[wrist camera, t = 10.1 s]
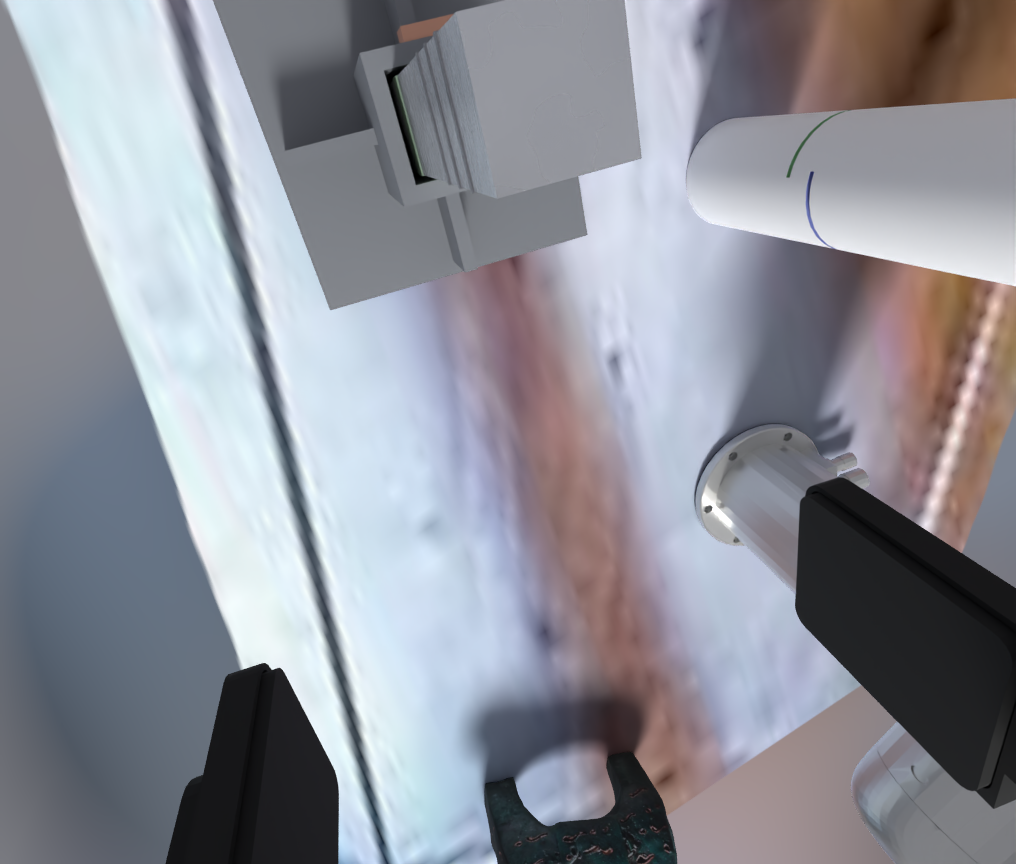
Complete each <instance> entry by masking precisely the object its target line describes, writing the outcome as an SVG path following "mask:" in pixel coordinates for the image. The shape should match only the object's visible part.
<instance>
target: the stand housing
mask: <svg viewBox="0 0 1016 864" xmlns="http://www.w3.org/2000/svg"><path fill="white" fill-rule="evenodd" d="M500 1H504V0H213V2H214V4H215V7H216V10H217V12H218V15H219V18H220V20H221V23H222V26H223V28H224V31H225V33H226V36H227V39H228V41H229V44H230V47H231V49H232V52H233V55H234V57H235V60H236V63H237V65H238V68H239V70H240V73H241V76H242V78H243V81H244V84H245V86H246V89H247V92H248V94H249V97H250V99H251V102H252V105H253V107H254V110H255V113H256V115H257V118H258V121H259V123H260V126H261V128H262V131H263V134H264V136H265V139H266V142H267V144H268V147H269V150H270V152H271V155H272V158H273V160H274V163H275V165H276V168H277V171H278V173H279V176H280V179H281V181H282V184H283V187H284V189H285V192H286V194H287V197H288V200H289V202H290V205H291V208H292V210H293V213H294V216H295V218H296V221H297V223H298V226H299V229H300V231H301V234H302V237H303V239H304V242H305V245H306V247H307V250H308V253H309V255H310V258H311V260H312V263H313V266H314V268H315V271H316V274H317V276H318V279H319V282H320V284H321V287H322V289H323V292H324V295H325V297H326V300H327V303H328V305H329V308H330V310H333V309H337V308H340V307H343V306H347V305H350V304H354V303H357V302H360V301H364V300H367V299H371V298H374V297H377V296H381V295H384V294H388V293H391V292H395V291H398V290H401V289H405V288H408V287H412V286H415V285H418V284H422V283H425V282H429V281H432V280H435V279H439V278H442V277H446V276H449V275H453V274H456V273H459V272H463V271H464V272H469V271H472V270H476V269H478V268H477V267H480V266H483V265H487V264H490V263H493V262H497V261H500V260H504V259H507V258H510V257H514V256H517V255H521V254H524V253H528V252H531V251H534V250H538V249H541V248H545V247H548V246H551V245H555V244H558V243H562V242H565V241H568V240H572V239H575V238H579V237H582V236H586V235H587V230H586V224H585V217H584V211H583V205H582V198H581V192H580V186H579V179H578V176H577V177H573V178H570V179H566V180H562V181H559V182H555V183H552V184H548V185H544V186H541V187H537V188H534V189H530V190H527V191H523V192H519V193H516V194H512V195H509V196H505V197H502V198H498V199H497V198H493V197H490V196H487V195H484V194H481V193H478V192H477V193H471V191H470V190H469V189H465V188H463V189H459V187H458V186H456V185H451V186H449V185H448V183H447V182H444V181H441V180H437V179H434V178H431V177H428V176H420V175H419V173H416V172H414V170H413V167H412V163H411V159H410V156H409V152H408V149H407V145H406V141H405V138H404V134H403V131H402V127H401V123H400V120H399V116H398V113H397V109H396V105H395V102H394V98H393V95H392V91H391V87H390V83H391V82H392V81H393V78H394V76H397V75H399V74H400V73H401V71H402V70H403V69H404V68H405V67H406V66H407V65H408V64H409V63H410V62H411V60H412V59H413V58H414V57H415V56H416V55H415V53H416V52H418V51H421V49H422V48H423V47H424V46H423V43H425V42H429V41H430V40H431V39H432V37H433V32H434V31H437V30H440V29H441V28H442V26H443V25H444V24H445V23H446V22H447V21H448V20H449V19H450V18H451V17H452V16H453V14H454V13H455V12H457V11H461V10H466V9H470V8H474V7H478V6H483V5H487V4H491V3H495V2H500Z"/></svg>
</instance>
